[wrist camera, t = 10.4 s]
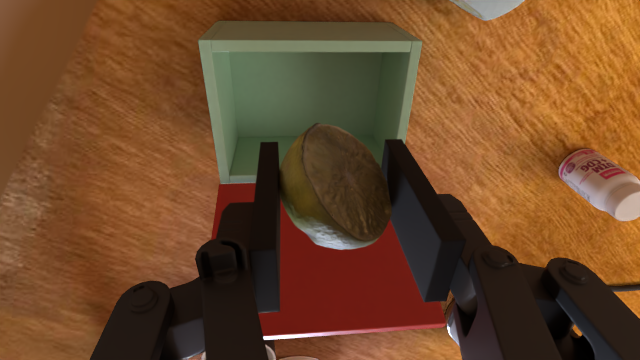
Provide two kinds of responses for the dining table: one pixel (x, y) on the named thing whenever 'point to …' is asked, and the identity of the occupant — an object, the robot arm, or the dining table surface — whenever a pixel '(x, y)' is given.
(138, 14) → the dining table surface
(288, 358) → the honey pot
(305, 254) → the lid
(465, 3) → the air freshener
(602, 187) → the pill bottle
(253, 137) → the open storage box
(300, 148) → the lime
